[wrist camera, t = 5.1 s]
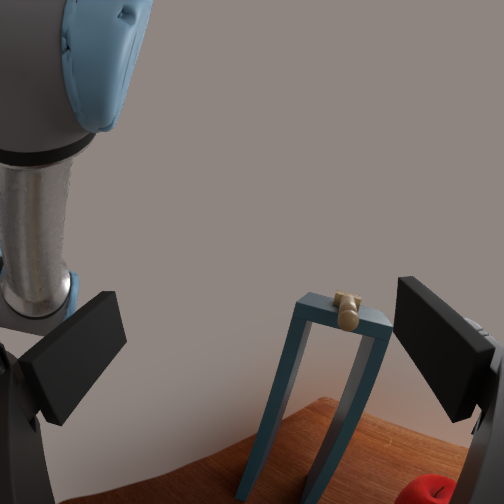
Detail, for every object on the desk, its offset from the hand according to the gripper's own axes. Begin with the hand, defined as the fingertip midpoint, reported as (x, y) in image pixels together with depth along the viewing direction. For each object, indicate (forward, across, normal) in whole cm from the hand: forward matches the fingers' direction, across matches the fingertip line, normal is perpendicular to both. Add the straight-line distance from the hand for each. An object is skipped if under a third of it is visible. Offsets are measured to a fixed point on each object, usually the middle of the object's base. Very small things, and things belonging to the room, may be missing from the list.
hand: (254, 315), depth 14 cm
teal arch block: (+14, 0, -35) cm, 38 cm away
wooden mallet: (+15, +8, -7) cm, 18 cm away
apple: (+2, +17, -38) cm, 41 cm away
